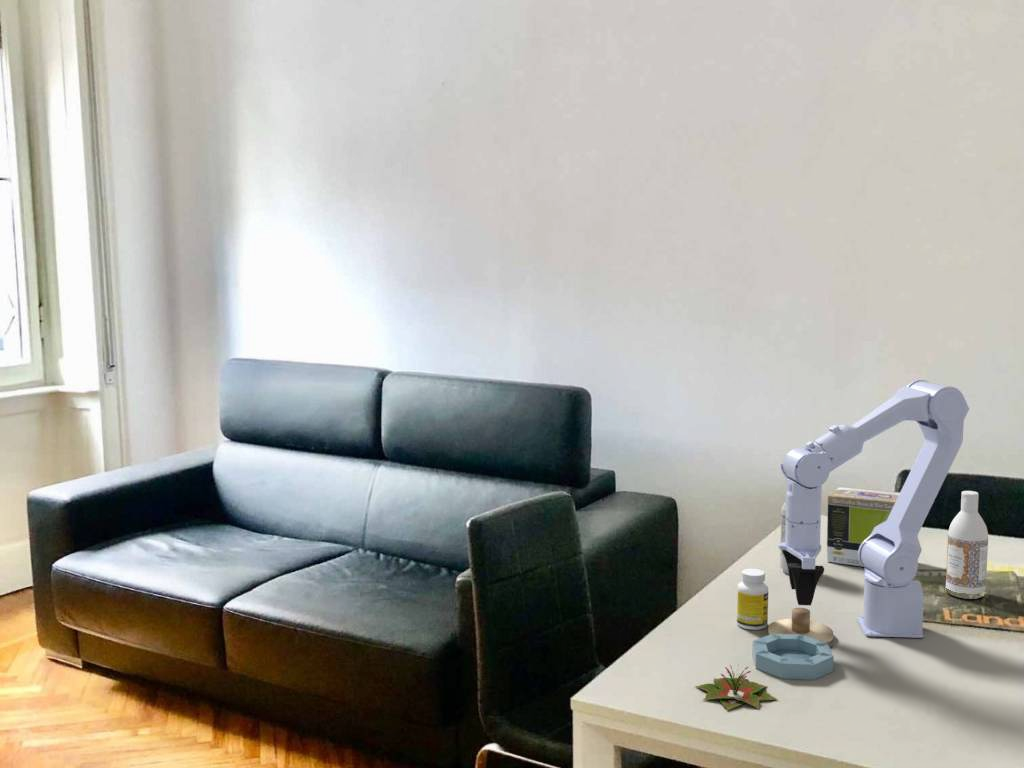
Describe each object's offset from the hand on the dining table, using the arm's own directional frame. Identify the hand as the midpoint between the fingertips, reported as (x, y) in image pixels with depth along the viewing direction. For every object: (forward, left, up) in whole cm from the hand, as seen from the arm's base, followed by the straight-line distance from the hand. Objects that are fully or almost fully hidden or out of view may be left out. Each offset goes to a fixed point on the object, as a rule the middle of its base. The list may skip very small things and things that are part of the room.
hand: (800, 596), depth 173 cm
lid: (0, 0, -7) cm, 7 cm away
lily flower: (+13, +23, -8) cm, 28 cm away
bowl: (+3, +11, -7) cm, 14 cm away
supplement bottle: (+8, -5, -7) cm, 12 cm away
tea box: (-20, -43, -7) cm, 48 cm away
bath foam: (-34, -24, -7) cm, 42 cm away
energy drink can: (-4, -35, -7) cm, 36 cm away
